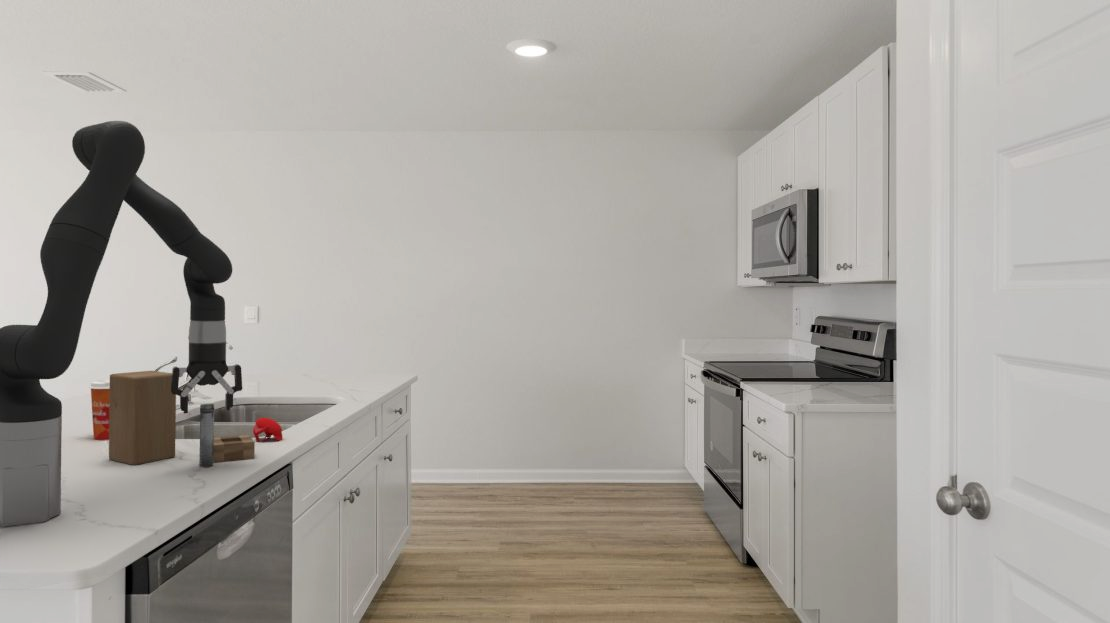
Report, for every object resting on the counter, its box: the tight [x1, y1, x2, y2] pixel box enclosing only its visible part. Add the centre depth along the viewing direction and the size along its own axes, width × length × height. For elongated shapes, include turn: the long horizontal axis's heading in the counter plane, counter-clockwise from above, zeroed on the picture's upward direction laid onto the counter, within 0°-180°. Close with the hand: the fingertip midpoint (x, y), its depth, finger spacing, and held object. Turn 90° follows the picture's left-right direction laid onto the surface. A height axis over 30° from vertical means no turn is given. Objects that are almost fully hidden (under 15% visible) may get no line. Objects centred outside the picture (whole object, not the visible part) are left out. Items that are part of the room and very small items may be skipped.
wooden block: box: [108, 370, 177, 466], centre depth 157 cm, size 10×10×20 cm
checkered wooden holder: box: [213, 434, 256, 463], centre depth 161 cm, size 9×9×4 cm
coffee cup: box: [88, 379, 110, 441], centre depth 177 cm, size 8×8×15 cm
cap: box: [252, 417, 283, 442], centre depth 180 cm, size 8×6×6 cm
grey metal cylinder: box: [198, 403, 215, 468], centre depth 152 cm, size 3×3×14 cm
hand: (207, 411), depth 152 cm, fingers open, 8 cm apart
